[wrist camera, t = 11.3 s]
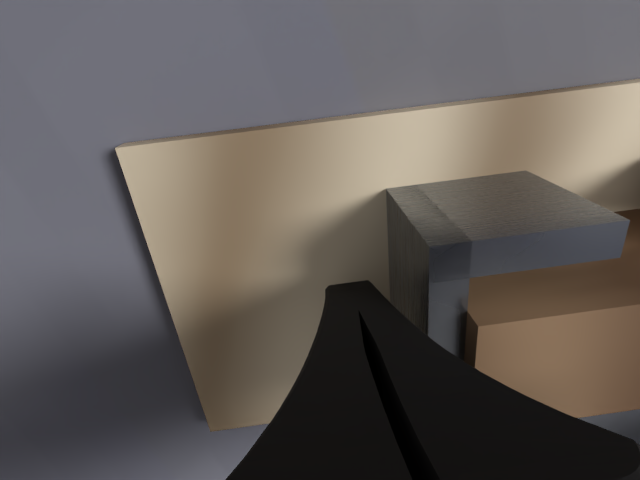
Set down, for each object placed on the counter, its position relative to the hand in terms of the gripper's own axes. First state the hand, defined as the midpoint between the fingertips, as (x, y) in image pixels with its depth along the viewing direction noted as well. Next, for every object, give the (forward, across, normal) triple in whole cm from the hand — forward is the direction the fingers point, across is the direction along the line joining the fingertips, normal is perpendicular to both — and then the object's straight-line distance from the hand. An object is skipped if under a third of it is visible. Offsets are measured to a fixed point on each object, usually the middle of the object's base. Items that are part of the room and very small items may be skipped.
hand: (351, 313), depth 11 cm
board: (+2, -4, 0) cm, 4 cm away
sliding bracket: (+1, -3, 0) cm, 3 cm away
